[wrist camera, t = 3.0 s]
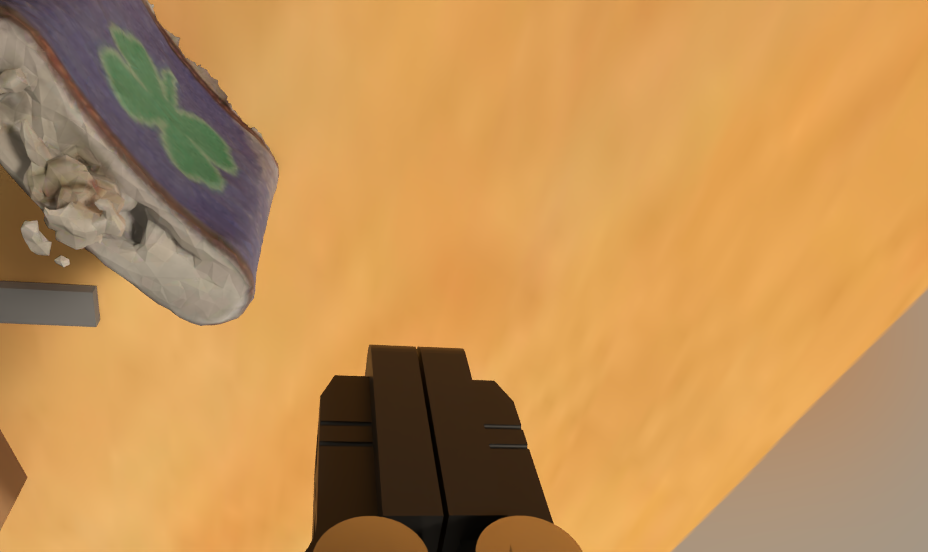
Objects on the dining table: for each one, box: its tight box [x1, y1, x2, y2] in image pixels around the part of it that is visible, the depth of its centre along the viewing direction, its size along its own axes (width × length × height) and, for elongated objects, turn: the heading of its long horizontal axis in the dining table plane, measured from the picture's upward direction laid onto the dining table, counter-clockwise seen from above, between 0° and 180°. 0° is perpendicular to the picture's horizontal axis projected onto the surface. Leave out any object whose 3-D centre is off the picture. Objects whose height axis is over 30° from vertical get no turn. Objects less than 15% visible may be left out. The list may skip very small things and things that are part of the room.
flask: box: [0, 0, 279, 326], centre depth 20 cm, size 9×3×11 cm, turn 31°
